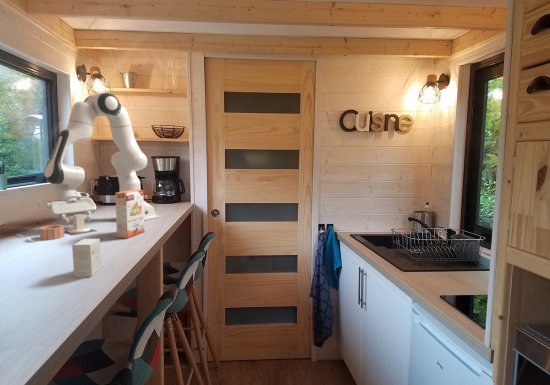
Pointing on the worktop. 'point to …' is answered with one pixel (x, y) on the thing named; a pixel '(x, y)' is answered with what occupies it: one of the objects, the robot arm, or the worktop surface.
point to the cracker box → (129, 213)
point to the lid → (78, 225)
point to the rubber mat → (80, 233)
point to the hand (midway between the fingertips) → (79, 221)
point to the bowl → (52, 232)
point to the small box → (86, 257)
